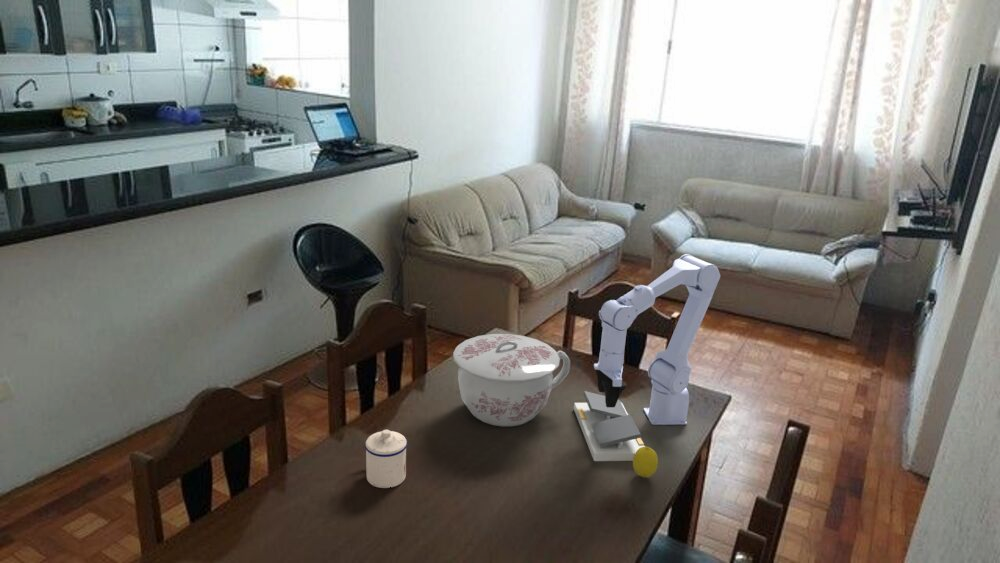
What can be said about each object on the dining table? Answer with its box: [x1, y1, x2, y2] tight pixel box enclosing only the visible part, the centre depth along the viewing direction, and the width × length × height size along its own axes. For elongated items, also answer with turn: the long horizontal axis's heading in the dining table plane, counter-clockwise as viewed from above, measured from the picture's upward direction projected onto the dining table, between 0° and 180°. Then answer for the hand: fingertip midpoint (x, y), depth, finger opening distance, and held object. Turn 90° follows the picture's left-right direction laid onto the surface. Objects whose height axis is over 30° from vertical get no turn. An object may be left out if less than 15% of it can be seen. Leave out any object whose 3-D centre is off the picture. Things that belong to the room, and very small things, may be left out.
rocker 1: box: [582, 390, 627, 419], centre depth 181 cm, size 10×10×2 cm
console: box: [573, 401, 646, 462], centre depth 176 cm, size 13×24×3 cm, turn 6°
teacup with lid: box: [364, 429, 408, 489], centre depth 154 cm, size 12×9×12 cm
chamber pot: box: [452, 333, 571, 427], centre depth 180 cm, size 28×28×21 cm
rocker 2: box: [591, 413, 642, 447], centre depth 169 cm, size 10×10×2 cm
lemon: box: [632, 446, 659, 478], centre depth 158 cm, size 6×6×8 cm
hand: (606, 398), depth 173 cm, fingers open, 7 cm apart
